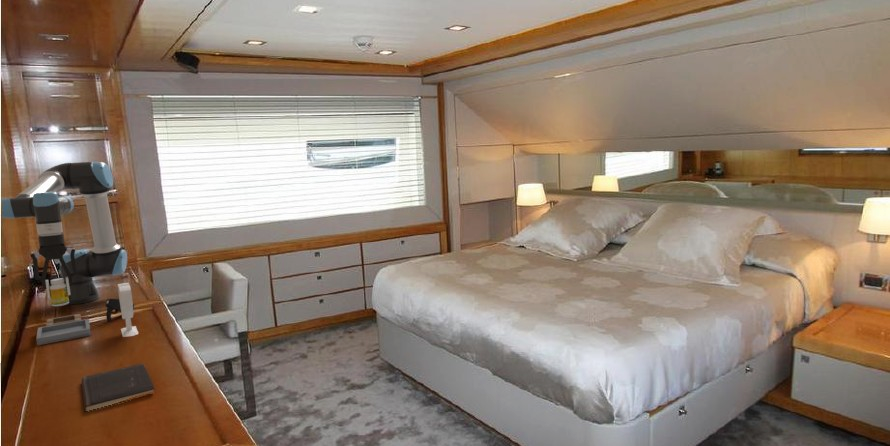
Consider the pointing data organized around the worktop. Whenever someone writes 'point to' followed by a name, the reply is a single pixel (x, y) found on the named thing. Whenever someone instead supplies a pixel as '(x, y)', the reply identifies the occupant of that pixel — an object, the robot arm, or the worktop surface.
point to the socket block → (63, 319)
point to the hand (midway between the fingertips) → (59, 295)
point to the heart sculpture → (126, 309)
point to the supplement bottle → (58, 292)
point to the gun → (113, 307)
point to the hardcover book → (115, 386)
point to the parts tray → (63, 331)
